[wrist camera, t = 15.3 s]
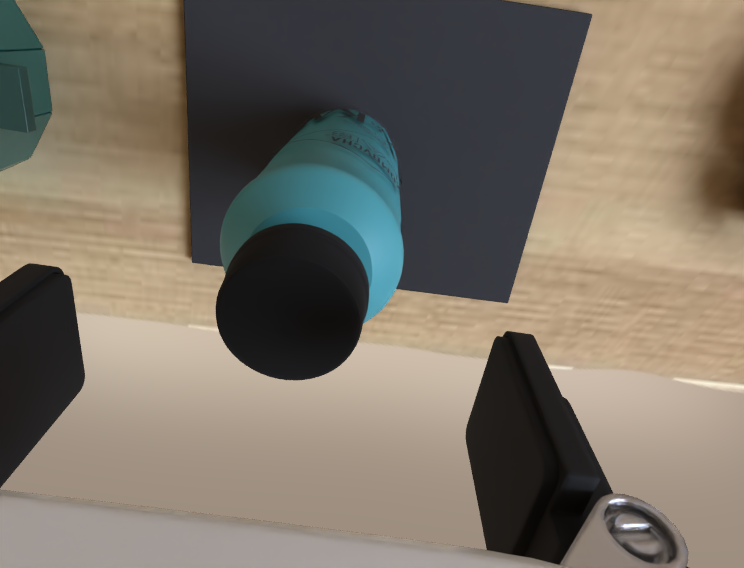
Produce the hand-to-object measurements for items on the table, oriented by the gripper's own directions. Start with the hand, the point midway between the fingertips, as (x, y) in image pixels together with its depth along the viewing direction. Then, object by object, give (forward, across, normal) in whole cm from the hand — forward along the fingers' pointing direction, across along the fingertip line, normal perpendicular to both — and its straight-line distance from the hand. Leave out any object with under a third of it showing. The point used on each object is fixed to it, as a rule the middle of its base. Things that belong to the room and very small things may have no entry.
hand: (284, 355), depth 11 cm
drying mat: (+22, -1, 0) cm, 22 cm away
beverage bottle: (+22, 0, +1) cm, 22 cm away
